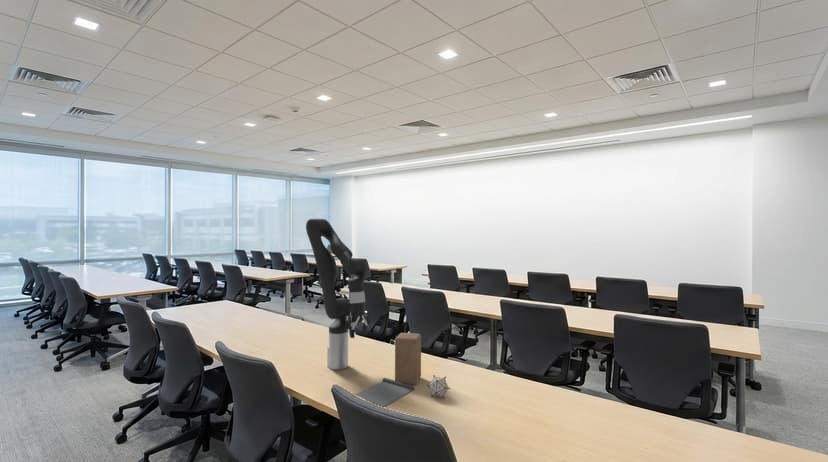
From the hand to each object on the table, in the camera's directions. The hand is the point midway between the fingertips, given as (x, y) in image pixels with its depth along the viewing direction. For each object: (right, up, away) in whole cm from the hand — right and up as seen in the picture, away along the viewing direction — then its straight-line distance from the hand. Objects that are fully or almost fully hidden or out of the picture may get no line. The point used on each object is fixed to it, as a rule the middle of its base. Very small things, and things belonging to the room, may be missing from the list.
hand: (358, 335), depth 181 cm
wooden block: (+23, -17, -10) cm, 31 cm away
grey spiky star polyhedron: (+36, -17, -27) cm, 48 cm away
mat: (+14, -17, -23) cm, 32 cm away
